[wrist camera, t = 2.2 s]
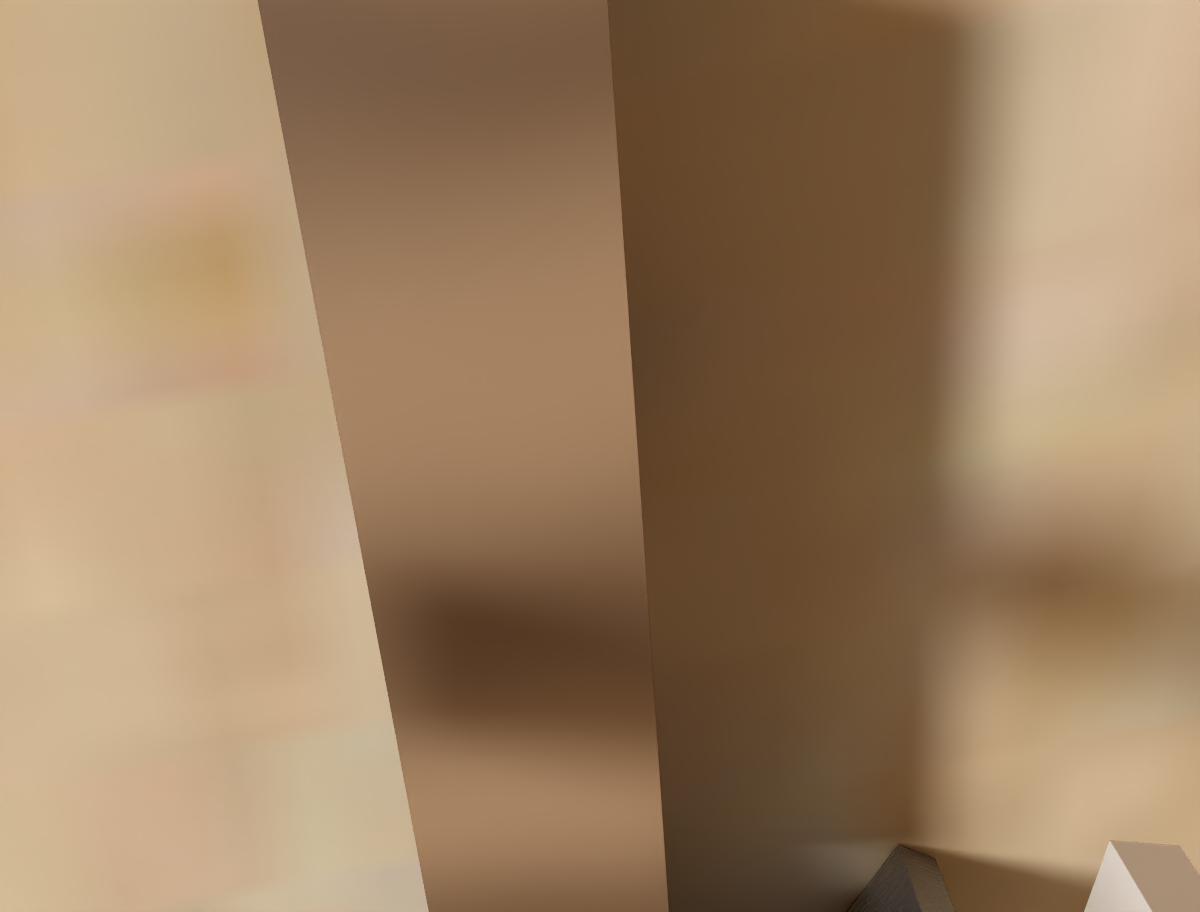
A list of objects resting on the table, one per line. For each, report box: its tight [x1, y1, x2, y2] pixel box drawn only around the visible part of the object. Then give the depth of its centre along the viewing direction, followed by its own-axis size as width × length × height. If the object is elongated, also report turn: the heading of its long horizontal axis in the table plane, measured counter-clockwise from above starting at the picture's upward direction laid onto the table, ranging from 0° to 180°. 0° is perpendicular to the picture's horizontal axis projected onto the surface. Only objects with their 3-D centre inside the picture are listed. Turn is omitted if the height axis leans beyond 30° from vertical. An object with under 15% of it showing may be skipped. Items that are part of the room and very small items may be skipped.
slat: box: [258, 0, 669, 912], centre depth 19 cm, size 18×4×6 cm, turn 4°
